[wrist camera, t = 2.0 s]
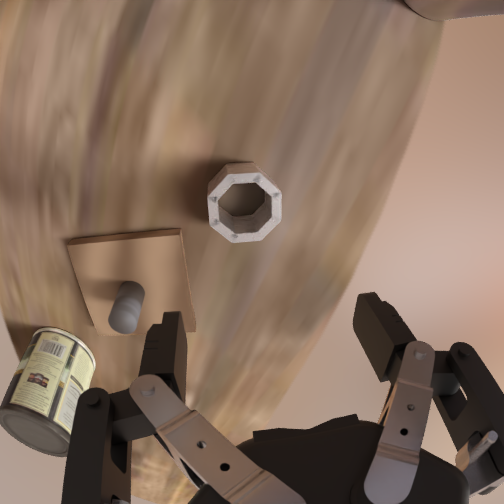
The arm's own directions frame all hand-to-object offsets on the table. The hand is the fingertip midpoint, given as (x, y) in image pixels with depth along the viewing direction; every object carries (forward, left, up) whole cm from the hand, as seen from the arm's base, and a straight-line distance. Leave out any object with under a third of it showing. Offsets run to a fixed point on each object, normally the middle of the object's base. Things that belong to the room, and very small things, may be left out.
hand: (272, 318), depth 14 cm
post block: (+12, +9, -18) cm, 23 cm away
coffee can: (+26, +20, -18) cm, 37 cm away
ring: (0, 0, -18) cm, 18 cm away
